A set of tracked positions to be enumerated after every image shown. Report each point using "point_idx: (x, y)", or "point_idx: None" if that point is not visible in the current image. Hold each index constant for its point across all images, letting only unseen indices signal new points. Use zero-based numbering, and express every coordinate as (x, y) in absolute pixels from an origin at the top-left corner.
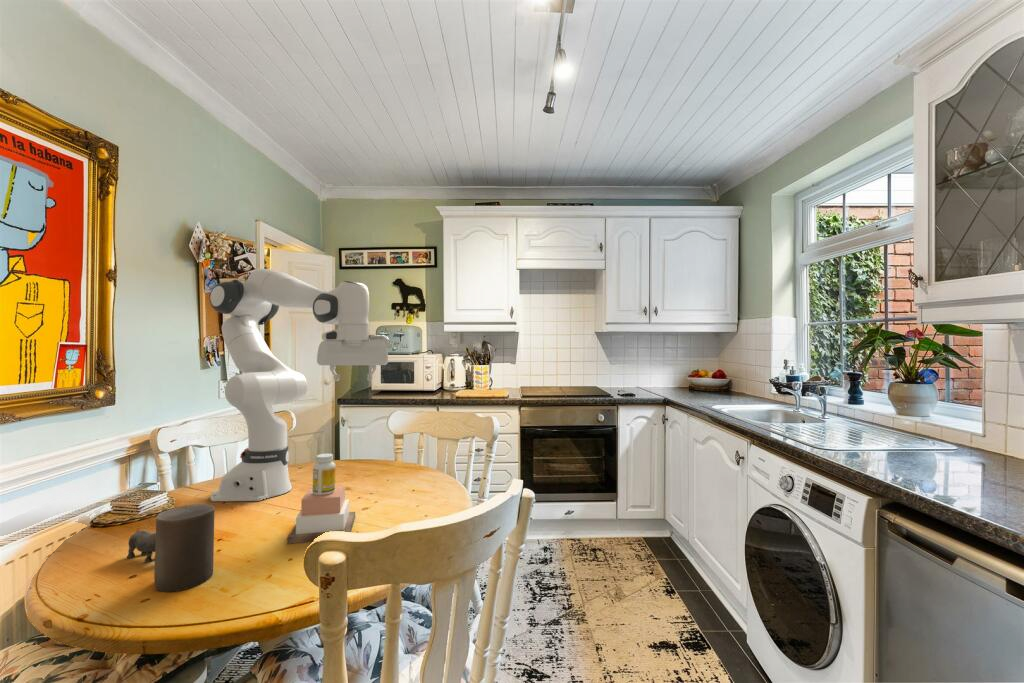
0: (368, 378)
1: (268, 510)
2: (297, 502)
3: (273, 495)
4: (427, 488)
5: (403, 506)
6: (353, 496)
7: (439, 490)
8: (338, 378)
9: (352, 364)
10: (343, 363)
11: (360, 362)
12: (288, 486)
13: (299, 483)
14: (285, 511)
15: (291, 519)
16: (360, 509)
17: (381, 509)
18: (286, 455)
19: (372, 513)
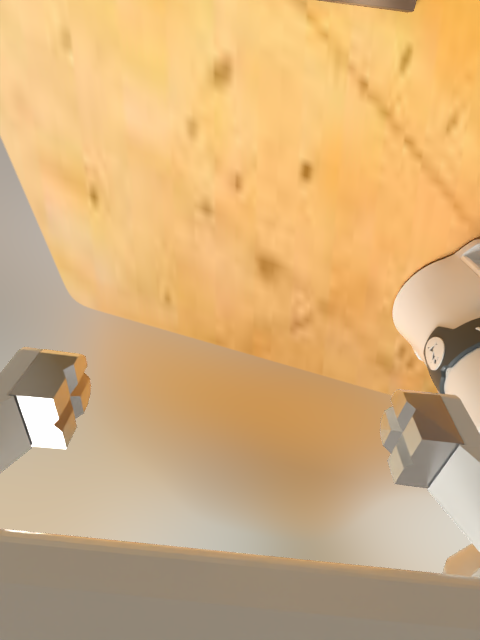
0: (58, 361)
1: (471, 155)
2: (393, 197)
3: (443, 260)
4: (56, 199)
5: (109, 49)
6: (252, 198)
7: (19, 169)
8: (411, 403)
9: (243, 563)
10: (434, 605)
11: (56, 592)
12: (406, 295)
13: (371, 338)
14: (432, 130)
15: (428, 45)
16: (235, 69)
17: (174, 44)
18: (441, 347)
19: (200, 11)
